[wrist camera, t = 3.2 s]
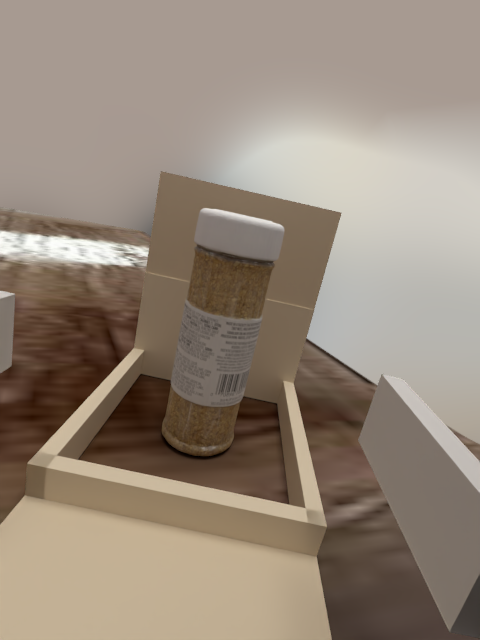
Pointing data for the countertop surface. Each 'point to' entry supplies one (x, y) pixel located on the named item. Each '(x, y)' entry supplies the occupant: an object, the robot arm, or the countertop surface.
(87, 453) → the countertop surface
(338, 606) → the countertop surface
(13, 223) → the countertop surface
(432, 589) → the robot arm
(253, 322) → the spice jar
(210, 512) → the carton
